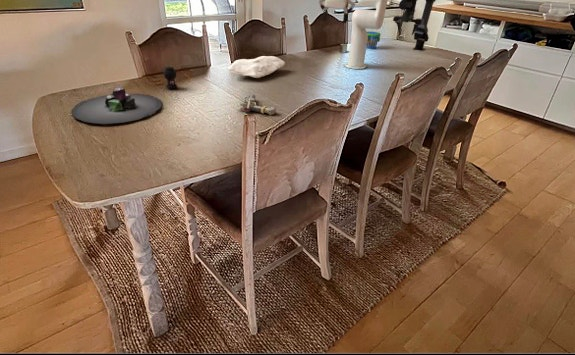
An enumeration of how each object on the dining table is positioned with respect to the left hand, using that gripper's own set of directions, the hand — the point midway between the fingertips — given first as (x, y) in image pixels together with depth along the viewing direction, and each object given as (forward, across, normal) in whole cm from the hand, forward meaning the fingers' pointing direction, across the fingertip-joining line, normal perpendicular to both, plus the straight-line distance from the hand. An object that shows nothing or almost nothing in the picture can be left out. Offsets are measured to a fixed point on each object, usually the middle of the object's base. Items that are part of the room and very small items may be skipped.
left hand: (335, 21), depth 171 cm
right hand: (+18, -20, -90) cm, 94 cm away
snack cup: (+31, +3, -95) cm, 100 cm away
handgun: (+30, +16, +45) cm, 57 cm away
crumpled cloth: (+31, +41, +4) cm, 52 cm away
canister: (+31, +16, -72) cm, 80 cm away
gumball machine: (+30, +64, +45) cm, 84 cm away
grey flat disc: (+30, +66, +76) cm, 105 cm away
